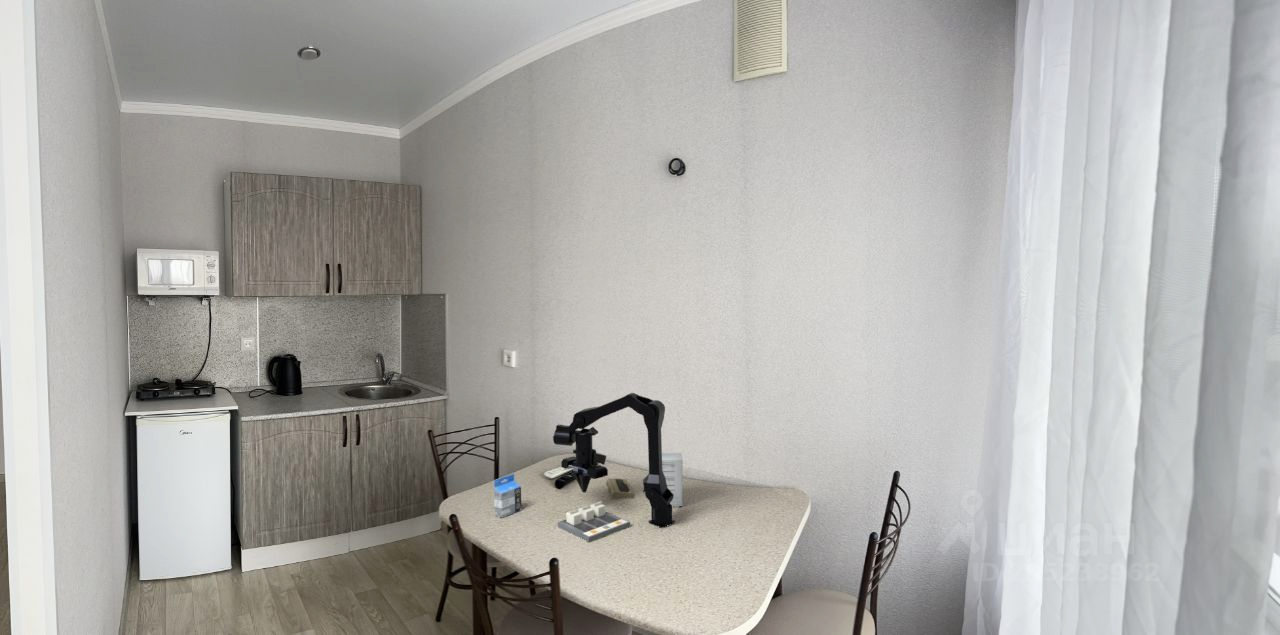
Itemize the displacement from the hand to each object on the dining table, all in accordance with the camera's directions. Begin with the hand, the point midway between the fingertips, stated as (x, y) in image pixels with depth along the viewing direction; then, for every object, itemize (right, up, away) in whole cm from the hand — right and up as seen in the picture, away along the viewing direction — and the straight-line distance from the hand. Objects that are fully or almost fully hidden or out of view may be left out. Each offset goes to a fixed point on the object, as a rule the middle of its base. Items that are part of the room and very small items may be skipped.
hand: (584, 492), depth 200 cm
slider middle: (+1, -6, -9) cm, 11 cm away
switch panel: (+4, -8, -11) cm, 14 cm away
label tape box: (-26, -7, 0) cm, 27 cm away
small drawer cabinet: (+29, -7, +10) cm, 32 cm away
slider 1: (-2, -6, -12) cm, 14 cm away
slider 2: (+5, -6, -5) cm, 9 cm away
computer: (+11, -7, +22) cm, 25 cm away
